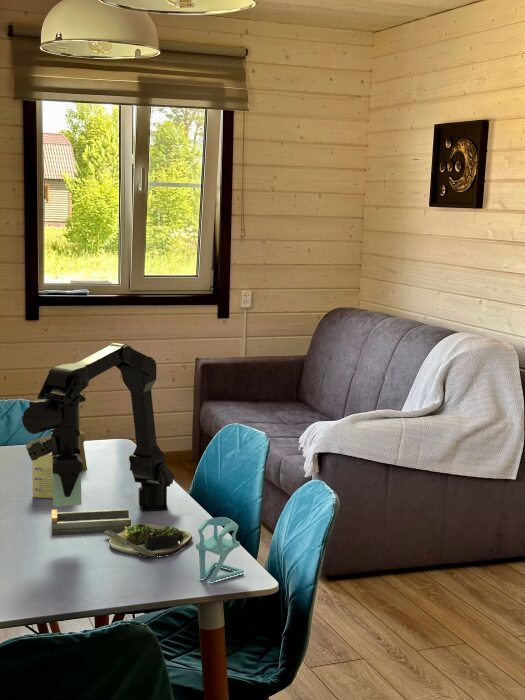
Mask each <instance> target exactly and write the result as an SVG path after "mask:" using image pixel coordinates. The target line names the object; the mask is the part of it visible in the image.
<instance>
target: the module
mask: <svg viewBox="0 0 525 700" xmlns="http://www.w3.org/2000/svg"><path fill="white" fill-rule="evenodd" d="M52 501H53V502H52V503H53V504H52V505H53V507H67V506H82V472H81V473H80V474H79V476H78V479H77V481H76V483H75V486H74V488H73V490H72V493H71V495H70V497H65V495H64V491H63V486H62V482H61V478H60V476H59V475H58V474H53V498H52Z"/></svg>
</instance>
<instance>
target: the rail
mask: <svg viewBox="0 0 525 700" xmlns="http://www.w3.org/2000/svg"><path fill="white" fill-rule="evenodd" d="M129 512H130V511H129V509H128V508H126V509H125V508H124V509H104V510H103V509H101V510H100V509H99V510H82V511H81V510H79V511H64V512H63V511H61V512H58V509H51V535H52V536H60V535H61V536H62V535H79V534H80V535H81V534H95V533H98V534H99V533H104V532H105V531H107V530H111V531H113V532H114V533H116V532H117V533H118V532H119V533H120V532H123V531H124V530H125V526H126V527H127V528H129V527H130V526H132V518H130V515H129Z"/></svg>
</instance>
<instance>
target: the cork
mask: <svg viewBox="0 0 525 700" xmlns="http://www.w3.org/2000/svg"><path fill="white" fill-rule="evenodd" d="M85 440H86V434H85V432H83V431H81V430H80V454H78V455H79V456H80V458H81V459H82V465H83V472H84V471H87V470H88V467H87V459H86V453H85V452H86V451H85V444H84V443H85Z"/></svg>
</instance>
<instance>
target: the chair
mask: <svg viewBox="0 0 525 700" xmlns="http://www.w3.org/2000/svg"><path fill="white" fill-rule="evenodd" d="M209 525H210V526H213V535H212V536H211V537H209V538H207V539H205V536H204V534H203V532H204V530H205V529H206V528H207V527H208V526H209ZM218 527H223V529H222V530H221V531H220V532H219V533H218ZM238 530H239V525H238V524H237V523H236V522H235V521H234V520H232V519H230V518H229V517H225V516H224V517H223V516H220V517H219V516H218V517H213V518H212V517H211V518H208V519H206V520H204V521H203V522H202V524H201V525H200V526H199V527H198V529H197V532H198V534H199V538H200V540H199V542H198V543H195V549H197V551H198V559H199V578H200V579H204V578H205V577H207V575H208V574H209V573H210V572H211V570H212V569H213V567H214V566H215V565H217V566H216V567H214V569H213V570H212V572H211V573H210V574H211V575H210V574H209V575H210V578H209V581H210V582H214V581H216V580H219V579H223V578H226V577H230V576H234V575H237V574H240V573H243V572H245V571H244V569H241V568H238V567H235V566H230V565H228V564H224V562H225V560H226V558H227V557H228V556H229V554H230V553H231V552H232V551H233V550H234V549H236V548H238V547H240V546H241V543H240V541H237V539H236V535H237V532H238ZM231 531H233V532H232V534H231V539H229V538H224V537H225V536H226V534H228V533H230V532H231ZM206 552H210V553H213V554H215V555H218V556H219V559H218V562H216V561H213V562H211V563H210V564H209V565H208V567H206ZM221 567H223V568H227V569H230V570H233V571H235V572H231V571H230V572H227V573H224V574H220V575H218V573H219V572H220V570H221ZM207 578H208V577H207Z"/></svg>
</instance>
